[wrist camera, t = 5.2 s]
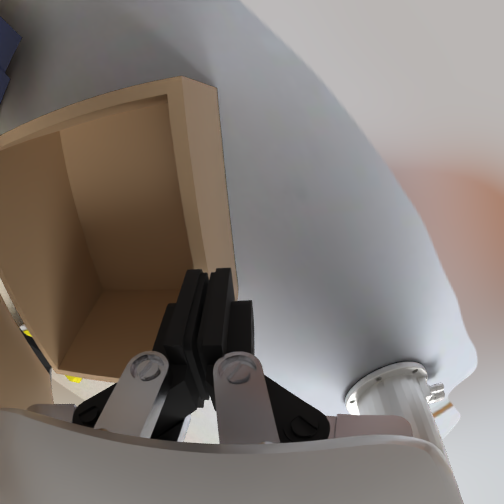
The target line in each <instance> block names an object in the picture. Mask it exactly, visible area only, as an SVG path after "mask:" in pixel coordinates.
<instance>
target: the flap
mask: <svg viewBox="0 0 504 504" xmlns="http://www.w3.org/2000/svg"><path fill="white" fill-rule="evenodd" d="M33 404H54V402H53V396H52V389H51V381H50V374H49V373H48V372H47V370H46V369H45V367H44V366H43V365H42V363H41V362H40V360H39V359H38V357H37V356H36V354H35V353H34V351H33V350H32V348H31V347H30V345H29V344H28V342H27V341H26V339H25V337H24V336H23V334H22V332H21V331H20V329H19V327H18V326H17V324H16V322H15V321H14V319H13V317H12V315H11V313H10V312H9V310H8V308H7V306H6V304H5V302H4V300H3V298H2V296H1V294H0V408H17V409H23V410H27V408H28V407H30V406H31V405H33Z"/></svg>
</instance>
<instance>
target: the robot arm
mask: <svg viewBox="0 0 504 504" xmlns="http://www.w3.org/2000/svg"><path fill="white" fill-rule="evenodd" d="M427 378H428V375H427V372H426V370H425V368H424V366H423V365H421V364H419V363H417V362H400V363H395V364H392V365H388V366H385V367H383V368H381V369H378V370H376V371H374V372H372V373H370V374H369V375H367V376H365V377H364V378H362V379H361V380H360V381H359V382H357V383H356V384H355V385H354V386H353V387H352V388H351V389H350V391H349V392H348V393H347V396H346V398H345V404H346V408H347V410H348V412H349V413H351V414H352V415H349V414H337V416H325V415H324V414H323V413H321V412H320V411H319V410H317V409H315V408H314V407H312V406H311V405H309V404H308V403H306V402H304V401H303V400H301V399H300V398H298V397H297V396H295V395H294V394H292V393H291V392H289V391H287V390H286V389H284V388H283V387H281V386H280V385H279V384H277V383H276V382H274V381H273V380H271V379H270V378H268V377H267V376H265V375H264V373H263V369H262V365H261V363H260V361H259V359H258V358H257V357H255V356H254V319H253V306H252V300H249V301H235V295H234V287H233V279H232V271H231V267H230V268H216V271H215V272H211V274H210V279H209V277H208V273H207V272H205V273H203V271H202V269H190V270H187V271H186V274H185V277H184V280H183V283H182V286H181V290H180V293H179V296H178V299H177V302H176V303H169V304H168V305H167V307H166V310H165V313H164V316H163V319H162V322H161V325H160V328H159V331H158V334H157V337H156V340H155V343H154V346H153V349H152V351H146V352H142V353H139V354H137V355H136V356H134V357H133V358H132V359H131V360H130V361H129V362H128V364H127V366H126V368H125V369H124V371H123V373H122V375H121V377H120V379H119V380H118V382H117V383H115V384H114V385H112V386H110V387H109V388H107V389H105V390H103V391H102V392H100V393H98V394H96V395H95V396H93V397H91V398H89V399H88V400H86V401H84V402H83V403H81V404H80V405H79V406H78V407H76V405H75V404H33V405H31V406H30V407H28V408H27V410H23V409H17V408H0V504H464V503H463V500H462V498H461V495H460V492H459V488H458V485H457V483H456V480H455V477H454V474H453V471H452V468H451V465H450V462H449V459H448V456H447V453H446V450H445V447H444V444H443V441H442V439H441V436H440V433H439V430H438V428H437V425H436V422H435V420H434V417H433V415H432V412H431V409H430V407H429V404H430V403H435V402H438V401H441V400H443V399H444V396H445V394H444V391H443V389H444V386H443V383H438V384H434V385H432V386H429V385H428V384H427ZM209 397H211V400H212V403H213V406H214V409H215V411H216V412H217V422H218V432H219V441H220V444H203V443H187V442H184V439H185V436H186V433H187V430H188V427H189V424H190V420H191V413H192V412H194V411H195V410H197V408H203V406H204V400H209Z"/></svg>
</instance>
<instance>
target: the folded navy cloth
mask: <svg viewBox="0 0 504 504" xmlns="http://www.w3.org/2000/svg"><path fill="white" fill-rule="evenodd" d="M21 39H22V37H21V36H20V35H19V34H18V33H17V32H16V31H15V30H14V29H13V28H12V27H11V26H10V25H9V24H8V23H7V22H6V21H4V20H3V19H2V18H1V17H0V103H1V100H2V98H3V95H4V93H5V90H6V88H7V86H8V83H9V81H10V78H9V77H8V76H7V75H6V74H5V71H6V69H7V67H8V65H9V63H10V61H11V58H12V56H13V54H14V52H15V50H16V48H17V46H18V45H19V43H20V41H21Z"/></svg>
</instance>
